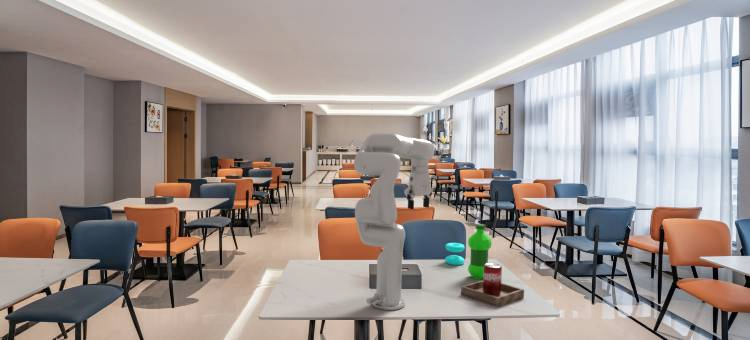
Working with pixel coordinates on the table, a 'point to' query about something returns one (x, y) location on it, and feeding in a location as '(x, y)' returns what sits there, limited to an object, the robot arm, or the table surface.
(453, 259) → the donuts
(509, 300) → the walnut tray
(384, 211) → the robot arm
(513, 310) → the table surface
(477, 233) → the plastic bottle
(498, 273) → the soda can
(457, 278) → the table surface
